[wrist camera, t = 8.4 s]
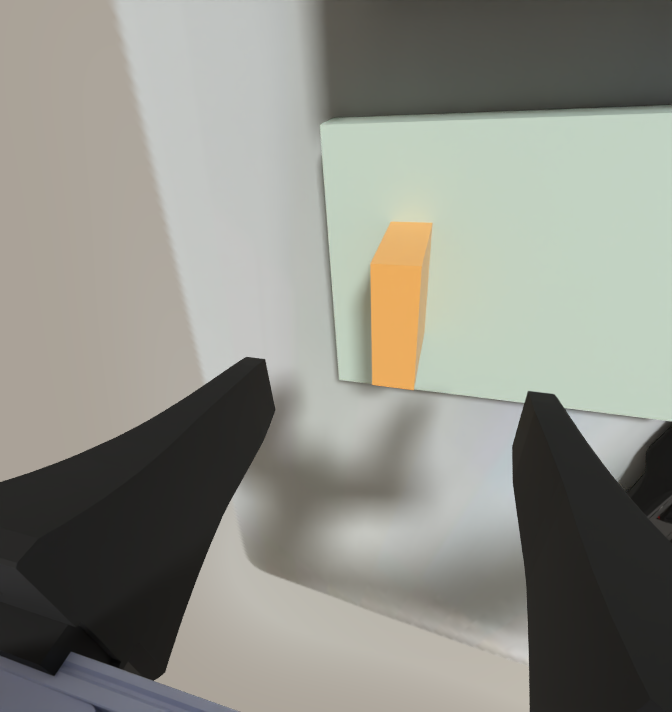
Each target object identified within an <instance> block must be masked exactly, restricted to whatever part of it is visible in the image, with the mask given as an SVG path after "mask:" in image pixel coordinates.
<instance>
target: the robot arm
mask: <svg viewBox="0 0 672 712" xmlns="http://www.w3.org/2000/svg"><path fill="white" fill-rule="evenodd" d="M274 412H275V406H274V401H273V396H272V391H271V386H270V381H269V376H268V372H267V367H266V362H265V359H259V358H251V357H246V358H244V359H242V360H241V361H239V362H237V363H236V364H234V365H233V366H231V367H230V368H229V369H227V370H226V371H224V372H223V373H221V374H220V375H218V376H217V377H215V378H214V379H213V380H211V381H210V382H208V383H207V384H205V385H204V386H202V387H201V388H199V389H198V390H196V391H195V392H193V393H192V394H190V395H189V396H187V397H186V398H184V399H183V400H181V401H179V402H178V403H176V404H175V405H173V406H171V407H170V408H168V409H166V410H165V411H164V412H162V413H160V414H158V415H157V416H155V417H153V418H152V419H150V420H148V421H146V422H144V423H143V424H141V425H139V426H137V427H135V428H133V429H131V430H129V431H127V432H125V433H124V434H122V435H120V436H118V437H116V438H113V439H111V440H109V441H107V442H105V443H102V444H100V445H98V446H96V447H94V448H92V449H89V450H87V451H84V452H82V453H80V454H78V455H75V456H73V457H71V458H68V459H65V460H63V461H60V462H58V463H55V464H53V465H50V466H47V467H44V468H42V469H39V470H36V471H33V472H30V473H28V474H24V475H22V476H18V477H15V478H12V479H9V480H6V481H3V482H0V712H239V711H236V710H234V709H231V708H228V707H225V706H222V705H220V704H217V703H214V702H211V701H208V700H206V699H203V698H200V697H197V696H194V695H191V694H188V693H186V692H183V691H180V690H177V689H175V688H172V687H169V686H166V685H163V684H160V683H158V682H155V681H154V680H155V679H157V678H159V677H160V676H161V675H163V673H165V671H166V668H167V664H168V661H169V658H170V655H171V652H172V648H173V645H174V643H175V639H176V636H177V633H178V630H179V627H180V624H181V621H182V618H183V615H184V613H185V610H186V607H187V604H188V601H189V599H190V596H191V593H192V590H193V588H194V585H195V582H196V580H197V577H198V575H199V572H200V570H201V567H202V564H203V562H204V559H205V557H206V554H207V552H208V549H209V547H210V544H211V542H212V539H213V537H214V535H215V533H216V530H217V528H218V526H219V523H220V521H221V519H222V516H223V514H224V512H225V510H226V508H227V506H228V504H229V502H230V501H231V499H232V497H233V495H234V493H235V492H236V490H237V488H238V486H239V484H240V483H241V481H242V479H243V477H244V475H245V474H246V472H247V470H248V468H249V466H250V465H251V463H252V461H253V459H254V457H255V455H256V454H257V452H258V450H259V448H260V446H261V444H262V442H263V440H264V438H265V436H266V433H267V431H268V428H269V426H270V423H271V420H272V418H273V415H274ZM512 462H513V487H514V495H515V502H516V509H517V517H518V524H519V531H520V538H521V545H522V552H523V559H524V566H525V576H526V587H527V611H528V641H529V683H530V685H529V686H530V687H529V688H530V712H672V543H671V542H670V541H669V540H668V539H667V538H666V537H665V536H664V535H663V534H662V533H661V531H660V530H659V529H658V528H657V527H656V526H655V525H654V524H653V523H652V522H651V521H650V520H649V519H648V518H647V517H646V515H645V514H644V513H643V512H642V511H641V510H640V509H639V507H638V506H637V505H636V504H635V503H634V502H633V501H632V499H631V498H630V497H629V496H628V495H627V493H626V492H625V491H624V490H623V488H622V487H621V486H620V485H619V484H618V482H617V481H616V480H615V479H614V477H613V476H612V475H611V474H610V472H609V471H608V470H607V468H606V467H605V466H604V464H603V463H602V462H601V460H600V459H599V458H598V456H597V455H596V454H595V452H594V451H593V450H592V448H591V447H590V445H589V444H588V443H587V441H586V440H585V438H584V437H583V436H582V434H581V433H580V431H579V430H578V428H577V427H576V425H575V424H574V422H573V421H572V419H571V418H570V416H569V415H568V413H567V412H566V410H565V408H564V407H563V405H562V404H561V402H560V401H559V399H558V398H557V397H556V395H555V394H550V393H542V392H534V391H528V392H527V396H526V399H525V403H524V407H523V410H522V414H521V417H520V421H519V424H518V428H517V432H516V435H515V439H514V442H513V446H512Z"/></svg>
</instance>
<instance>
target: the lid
mask: <svg viewBox="0 0 672 712" xmlns="http://www.w3.org/2000/svg"><path fill="white" fill-rule="evenodd" d="M320 135H321V148H322V162H323V175H324V188H325V201H326V214H327V227H328V240H329V254H330V267H331V280H332V293H333V306H334V319H335V333H336V346H337V359H338V372H339V380H344V381H352V382H360V383H368V384H372V385H377V386H385V387H393V388H401V389H409V390H414V389H416V390H424V391H432V392H440V393H448V394H456V395H464V396H472V397H480V398H488V399H496V400H504V401H512V402H520V403H525V399H526V396H527V392H528V391H534V392H542V393H550V394H555V395H556V397H557V398H558V399H559V401H560V402H561V404H562V405H563V407H564V408H568V409H576V410H584V411H592V412H600V413H608V414H616V415H624V416H632V417H640V418H648V419H656V420H664V421H672V105H656V106H630V107H604V108H578V109H551V110H525V111H499V112H473V113H447V114H421V115H395V116H368V117H342V118H332V119H330V120H328V121H326V122H324V123H322V124H320Z"/></svg>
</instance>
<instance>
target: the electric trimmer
mask: <svg viewBox="0 0 672 712" xmlns="http://www.w3.org/2000/svg"><path fill="white" fill-rule="evenodd" d="M627 495H628V496H629V497H630V498H631V499H632V501H633V502H634V503H635V504H636V505H637V506H638V507H639V509H640V510H641V511H642V512H643V513H644V514H645V515H646V517H647V518H648V519H649V520H650V521H651V522H652V523H653V524H654V525H655V526H656V527H657V528H658V529H659V530H660V531H661V533H662V534H663V535H664V536H665V537H666V538H667V539H668V540H669V541H670V542H671V543H672V427H671V428H669V429H668V430H667V431H666V432H665V433H664V434H663V435H662V436H661V437H660V438H659V439H658V440H657V441H656V442H655V443H653V444H652V445H651V446H650V447H649V449H648V451H647V453H646V469H645V474H644V475H643V476H642V477H641V478H640V479H639V480H638V482H637V483H636V484H635V485H634V486H633V487H632V488H631V489H630V490H629V492H628V493H627Z"/></svg>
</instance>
